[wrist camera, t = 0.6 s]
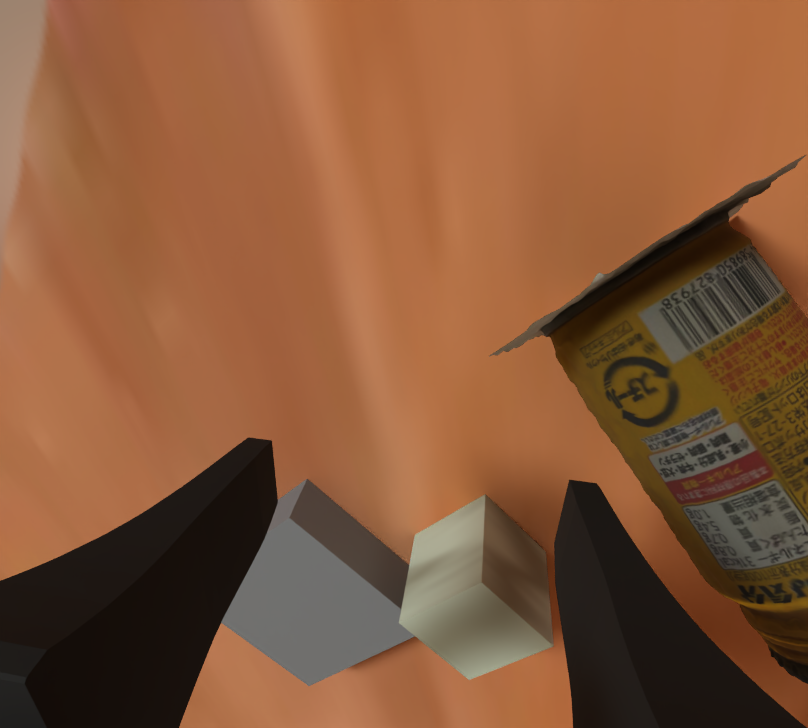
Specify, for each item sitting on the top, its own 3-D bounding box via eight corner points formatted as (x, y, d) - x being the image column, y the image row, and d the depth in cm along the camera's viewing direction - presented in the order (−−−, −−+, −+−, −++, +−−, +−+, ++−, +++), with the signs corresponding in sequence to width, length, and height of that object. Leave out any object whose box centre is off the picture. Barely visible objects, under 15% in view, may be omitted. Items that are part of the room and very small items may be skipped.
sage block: (545, 551, 27) (553, 646, 23) (474, 586, 29) (469, 679, 25) (485, 493, 26) (481, 582, 22) (415, 534, 28) (398, 623, 24)
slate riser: (433, 579, 30) (427, 630, 27) (324, 637, 34) (309, 685, 31) (309, 473, 27) (289, 517, 25) (207, 548, 31) (180, 593, 29)
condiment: (542, 331, 21) (737, 617, 20) (484, 350, 13) (797, 826, 12) (732, 206, 18) (976, 529, 17) (796, 139, 11) (1260, 726, 9)
